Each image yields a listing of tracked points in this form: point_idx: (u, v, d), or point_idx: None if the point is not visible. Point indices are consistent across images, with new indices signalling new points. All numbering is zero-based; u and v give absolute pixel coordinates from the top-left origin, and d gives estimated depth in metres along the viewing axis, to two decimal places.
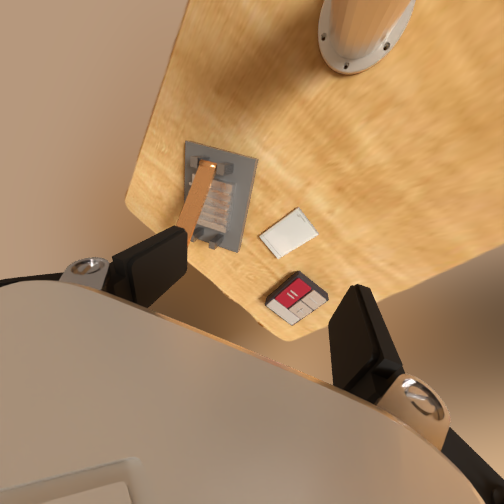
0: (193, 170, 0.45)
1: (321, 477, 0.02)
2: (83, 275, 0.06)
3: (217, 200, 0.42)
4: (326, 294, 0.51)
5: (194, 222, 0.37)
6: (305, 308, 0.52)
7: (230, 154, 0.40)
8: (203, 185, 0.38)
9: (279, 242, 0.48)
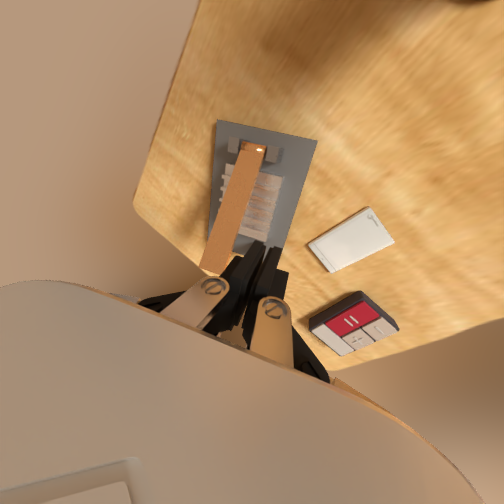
0: (225, 159, 0.34)
1: (321, 477, 0.02)
2: (205, 293, 0.07)
3: (260, 198, 0.31)
4: (394, 322, 0.40)
5: (236, 229, 0.26)
6: (365, 338, 0.41)
7: (280, 135, 0.30)
8: (248, 177, 0.27)
9: (336, 252, 0.36)
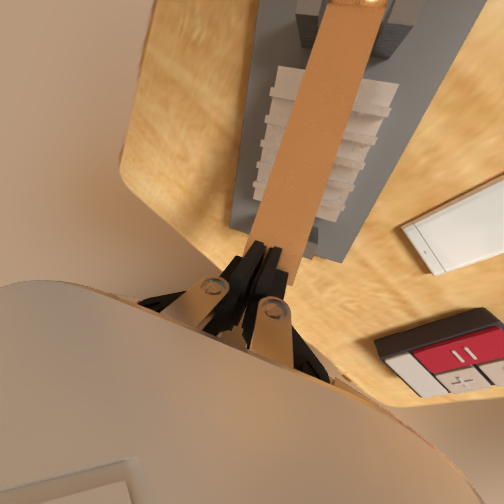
0: (271, 69, 0.18)
1: (321, 477, 0.02)
2: (205, 293, 0.07)
3: (345, 134, 0.16)
4: None
5: (324, 183, 0.12)
6: (478, 381, 0.26)
7: None
8: (348, 63, 0.12)
9: (458, 241, 0.21)
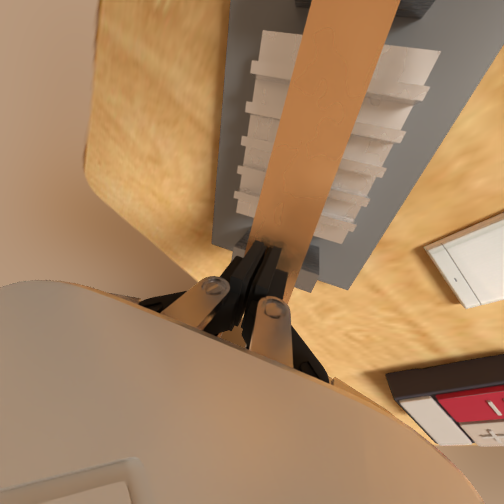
0: (255, 40, 0.14)
1: (321, 477, 0.02)
2: (205, 293, 0.07)
3: (358, 127, 0.11)
4: None
5: (316, 219, 0.10)
6: None
7: None
8: (357, 42, 0.08)
9: (501, 267, 0.16)
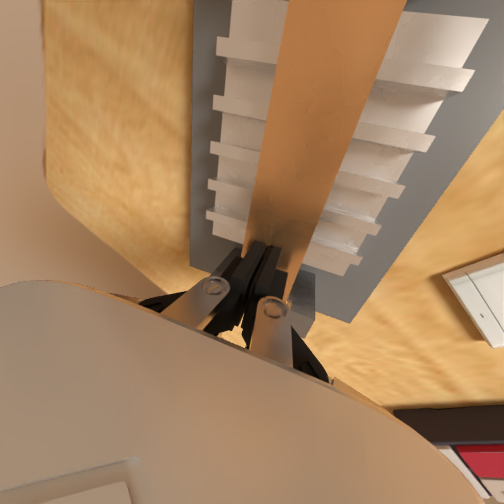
0: (228, 17, 0.10)
1: (321, 477, 0.02)
2: (205, 293, 0.07)
3: (366, 130, 0.08)
4: None
5: (307, 241, 0.10)
6: None
7: None
8: (357, 29, 0.06)
9: None
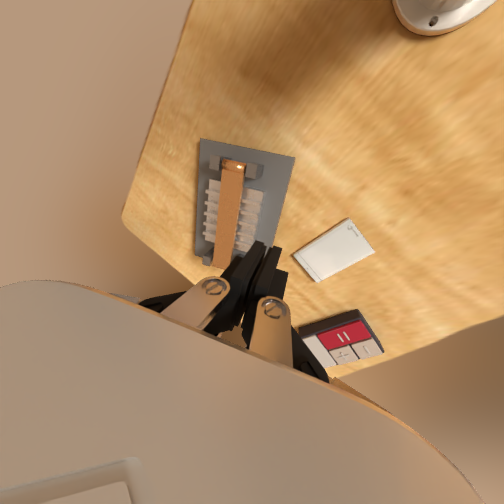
0: (209, 175, 0.35)
1: (321, 477, 0.02)
2: (205, 293, 0.07)
3: (243, 212, 0.32)
4: (380, 344, 0.42)
5: (232, 240, 0.34)
6: (351, 355, 0.42)
7: (260, 152, 0.31)
8: (233, 197, 0.31)
9: (321, 262, 0.37)
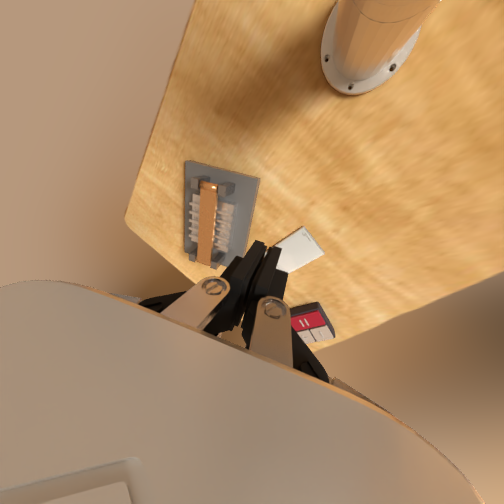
0: (193, 189, 0.44)
1: (321, 477, 0.02)
2: (205, 293, 0.07)
3: (218, 220, 0.41)
4: None
5: (211, 242, 0.43)
6: (309, 337, 0.52)
7: (231, 174, 0.39)
8: (210, 209, 0.39)
9: (284, 260, 0.46)
